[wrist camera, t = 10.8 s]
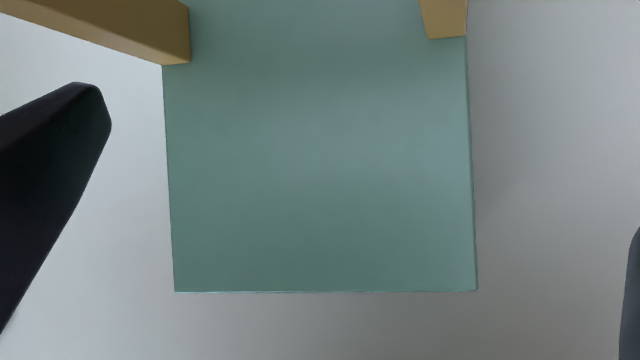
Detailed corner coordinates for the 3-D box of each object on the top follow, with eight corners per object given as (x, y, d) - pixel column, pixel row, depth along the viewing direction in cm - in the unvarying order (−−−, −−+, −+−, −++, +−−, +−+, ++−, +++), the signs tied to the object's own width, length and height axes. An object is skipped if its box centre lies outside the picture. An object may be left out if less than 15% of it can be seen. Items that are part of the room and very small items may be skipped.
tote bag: (468, 227, 19) (501, 431, 5) (308, 232, 20) (-72, 408, 6) (454, -59, 19) (441, -790, 4) (294, -38, 20) (-133, -563, 6)
